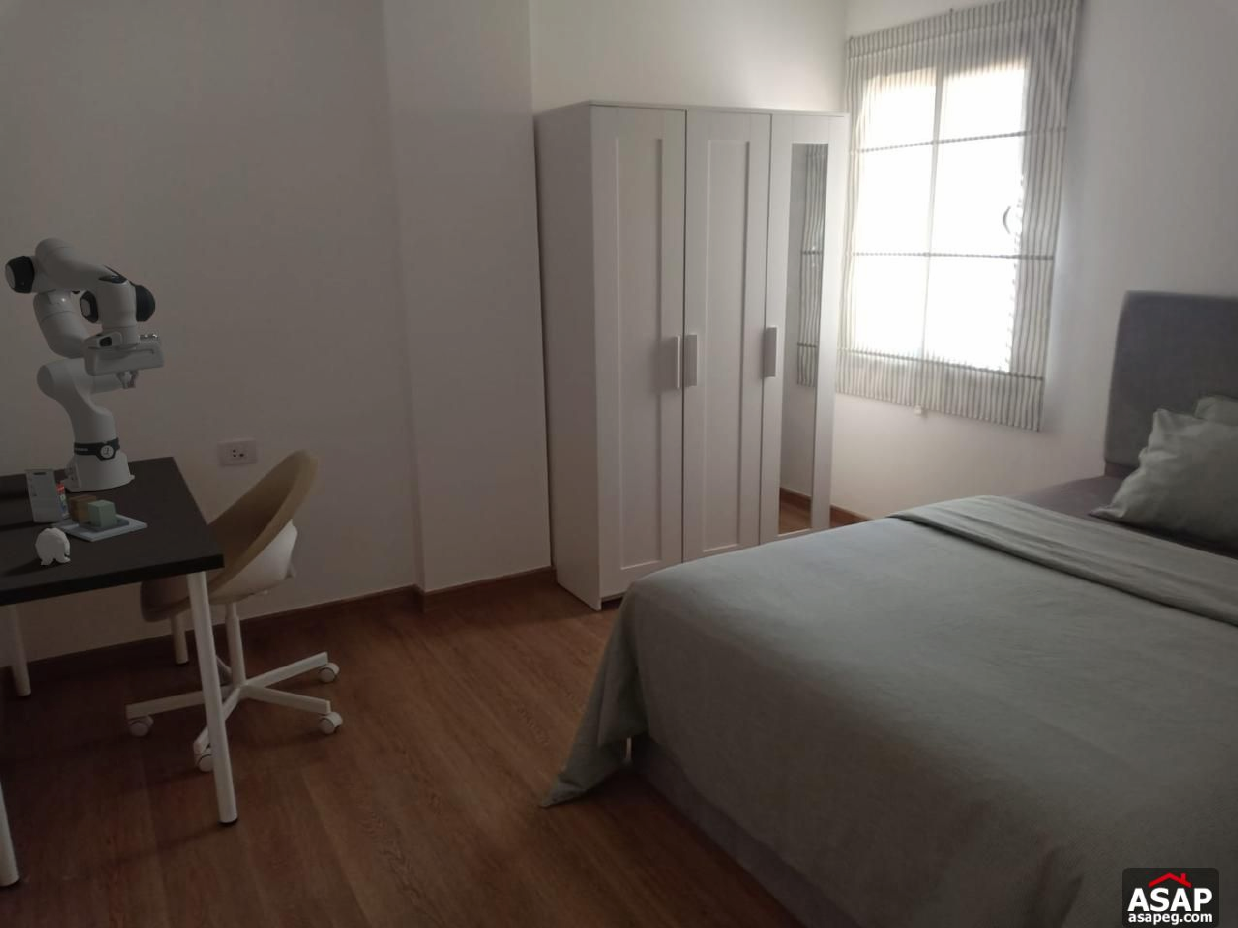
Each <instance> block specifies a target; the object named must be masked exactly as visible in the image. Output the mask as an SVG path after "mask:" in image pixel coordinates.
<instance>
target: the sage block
mask: <svg viewBox="0 0 1238 928" xmlns="http://www.w3.org/2000/svg"><path fill="white" fill-rule="evenodd" d="M87 505H88V511H89V517H90V523H91V525H94V526H97V527H102V526H106V525H110V524H114V523H117V517H116V514H117V512H116V506H115V502H112V501H109V500H106V499H100V500H97V501H95V502H91V503H87Z"/></svg>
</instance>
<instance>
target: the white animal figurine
mask: <svg viewBox="0 0 1238 928" xmlns="http://www.w3.org/2000/svg"><path fill="white" fill-rule="evenodd" d="M35 541H36V542H35V546H34V547H36V552H37V554H38V555H39V558H40V559H41V560H42V561H41V563H40V565H41V566H42V565H46V566H49V565H50V564H51V563H52V562H54V559H55V560H56V561H57V562H59V563H62V564H67V563H66V562H68V563H70V562H71V559H70V558H69V557H67V556H70V555H71V554H70V549H71V548H72V546H70V542H69V539H68V537H67V536H66V532H63V531H60V530H59V529H57V528H52V527H51V528H49V527H47V528H45V529H44V530H43V531H41V532H40V533H39V534H38V536H37V538H36V540H35ZM65 555H66V556H65ZM69 561H70V562H69Z"/></svg>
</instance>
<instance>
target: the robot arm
mask: <svg viewBox="0 0 1238 928" xmlns="http://www.w3.org/2000/svg"><path fill="white" fill-rule="evenodd" d="M4 269H5V271H4V273H5V274H4V276H5V280H6V282H7V284H8V286H9V287H10V288H11V290H13V291H14V292H15V293H17V294H24V295H25V294H26V295H28V294H29V295H30V293H31V294H32V293H33V294H34V293H35V295H34V297H33V298H32V299H33V300H32V306H33V312H34V315H35V317H36V322H37V323H38V326H39V328H40V330H41V332H42V335H43V337H44V339H45V341H46V344H47V345H48V347H49V349H50V350H51V351H52V352H54V354H56V355H58V356H60V357H63V358H67V359H60V360H59V359H58V360H55V361H52V362H48V363H45V364H43V365H41V366H40V368H39V370H38V372H37V373H36V383H37V386H38V388H39V390H40V391H41V392H42V393H43V394H44V395H45V396H47V397H49V398H51V399H53V400H54V401H56V402H57V403H58V404H60V405H61V406H62V408H64V410H65V412H66V413H67V414H68V416H69V419H70V422H71V425H72V431H73V435H74V440H75V441H74V442H73V454H74V455H73V456H72V458H71V459H70V460H69V461H68V463H67V465H66V467H64V469H63V473H64V475H65V476H67V478H64V479H62V480H60V482H59V483H63V484H64V489H66V490H68V491H69V492H71V493H77V492H78V493H79V492H89V491H90V492H91V491H92V492H93V491H103V490H110V489H114V488H118V487H122V486H125V485H127V484H129V483H130V482H131V481H132V480H134V479H136V478H135V475H134V474H131V473H130V469H129V468H130V467H129V465H128V459H127V456H126V454H125V453H124V452H122V451H121V450H120V449H121V444H120V442H121V441H120V440H119V437H118V436H117V432H116V431H117V430H116V425H115V418H114V415H113V413H112V411H111V410H110V409H108V408H107V407H104V406H101V405H99V404H96V403H93V402H92V399H91V396H90V395H92V394H93V395H95V394H102V393H107V392H113V391H117V390H119V389H123V390H129V389H134V388H135V389H136V388H137V383H136V381H137V380H138V378H139V375H140V374H139V371H143V370H150V369H151V370H152V369H159V368H160V369H161V368H164V365H165V363H166V361H165V360H166V359H165V356H164V353H163V349H162V341H161V338H160V337H159V336H158V335H156V334H154V333H150V334H140V328H139V323H140V322H142V323H144V322H148V320H149V319H151V317H152V316H153V315H154V313H155V312H156V300H155V298H154V295H153V294H152V293H151V291H150V290H149V289H148V288H146V287H145V286H143V285H142V284H136V283H134V282H133V281H132V280H129V279H128V278H126V276H124V275H122V274H120V273H119V272H117V271H116V270H114V268H111V267H109V266H107V265H105V264H101V263H99V262H96V261H95V260H92V259H90V258H88V257H87V256H85V255H84V254H82V253H81V252H79V251H78V250H77V249H76V248H75V247H74V246H72V245H71V244H70V243H68V242H66V241H64V240H61V239H60V238H56V237H50V238H49V237H48V238H45V239H43V240H41V241H40V242H39V243H38V244H36V247H35V250H34V255H33V254H32V255H27V256H25V255H21V256H17V257H14V258H11V259H9V260H8V261H7V263H6V264H5V268H4ZM81 292H83V293H82V294H81V296H80V298H79V308H80V313H81V315H82V317H83V319H85V320H86V321H87V322H89V323H91V324H95V325H101V331H100V332H98V333H96V334H94V335H90V334H89V332H88V330H87V328H86V327H85V325H84V323H83V321H82V318H81V317H80V315H79V313H78V311H77V309H76V308H75V305H74V304H73V302H72V300H71V299H72V298H71V294H72V293H73V295H79V294H80V293H81Z"/></svg>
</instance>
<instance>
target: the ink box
mask: <svg viewBox="0 0 1238 928" xmlns="http://www.w3.org/2000/svg"><path fill="white" fill-rule="evenodd" d="M39 472H41V473H45V474H35V473H39ZM25 477H26V484H27V491H28V496H29V502H30V506H31V511H32V512H31V513H32V518H33V522H34V523H57V522H61V521H65V520H69V519H71V518H70V517H71V516H70V510H69V508H68V507H69V505H68V501H67V500H68V499H67V496H66V495H67V494H66V488H65V487H64V484H63V483H60V482H59V483H57V482H56V477H55V470H54V468H39V469H32V468H31V469H25Z"/></svg>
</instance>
